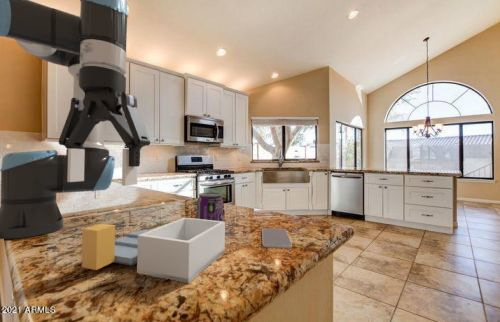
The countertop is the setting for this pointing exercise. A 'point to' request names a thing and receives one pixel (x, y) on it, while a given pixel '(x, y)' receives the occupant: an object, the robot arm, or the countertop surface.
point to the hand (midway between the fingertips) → (101, 183)
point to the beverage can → (210, 206)
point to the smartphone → (275, 238)
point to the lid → (108, 247)
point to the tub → (180, 248)
